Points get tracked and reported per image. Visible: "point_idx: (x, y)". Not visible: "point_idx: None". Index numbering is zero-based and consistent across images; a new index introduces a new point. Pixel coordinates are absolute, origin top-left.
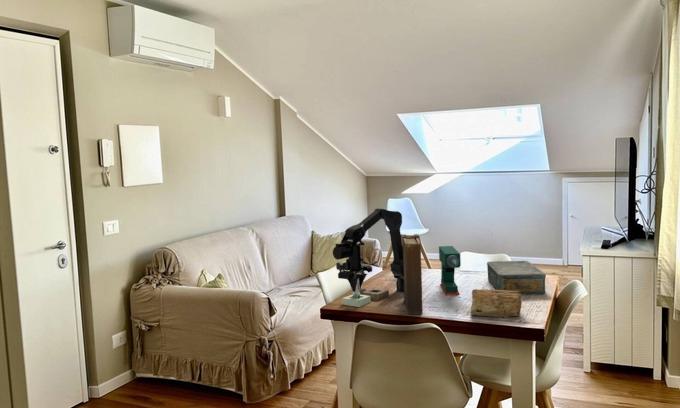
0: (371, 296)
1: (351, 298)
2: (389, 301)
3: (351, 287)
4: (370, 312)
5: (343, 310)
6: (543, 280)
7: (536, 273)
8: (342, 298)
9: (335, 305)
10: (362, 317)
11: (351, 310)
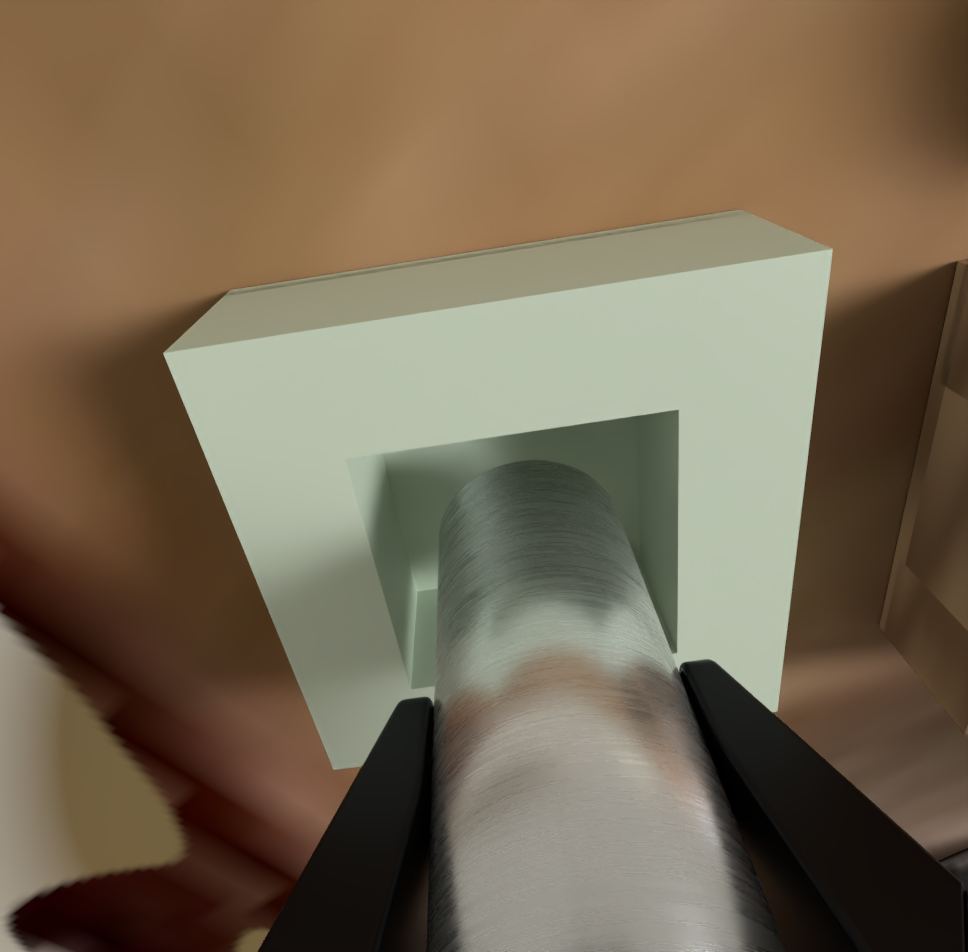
0: (957, 555)
1: (342, 566)
2: (933, 730)
3: (330, 840)
4: (304, 859)
5: (24, 573)
6: None
7: None
8: (169, 354)
9: (69, 133)
10: (84, 909)
11: (150, 661)
